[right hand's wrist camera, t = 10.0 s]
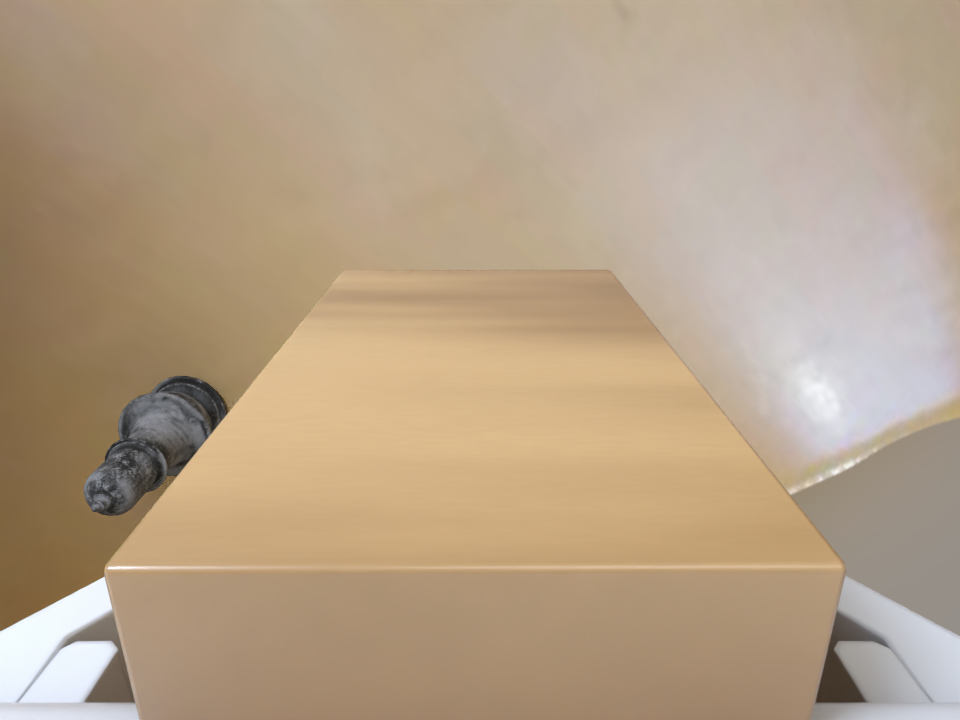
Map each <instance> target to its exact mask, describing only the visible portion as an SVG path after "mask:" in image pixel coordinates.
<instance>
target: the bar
mask: <svg viewBox="0 0 960 720" xmlns="http://www.w3.org/2000/svg"><path fill="white" fill-rule="evenodd" d="M845 574H846V568H845V564H844V562H843V560H842V559H841V558H840V557H839V555H838V554H837V553H836V552H835V550H834V549H833V548H832V547H831V545H830V544H829V543H828V542H827V540H826V539H825V538H824V537H823V535H822V534H821V533H820V532H819V530H818V529H817V528H816V527H815V525H814V524H813V523H812V522H811V520H810V519H809V518H808V517H807V515H806V514H805V513H804V512H803V510H802V509H801V508H800V507H799V505H798V504H797V503H796V502H795V500H794V499H793V498H792V497H791V495H790V494H789V493H788V492H787V490H786V489H785V488H784V487H783V485H782V484H781V483H780V482H779V480H778V479H777V478H776V477H775V475H774V474H773V473H772V472H771V470H770V469H769V468H768V467H767V465H766V464H765V463H764V462H763V460H762V459H761V458H760V457H759V455H758V454H757V453H756V452H755V450H754V449H753V448H752V447H751V445H750V444H749V443H748V442H747V440H746V439H745V438H744V437H743V435H742V434H741V433H740V432H739V430H738V429H737V428H736V427H735V425H734V424H733V423H732V422H731V420H730V419H729V418H728V417H727V415H726V414H725V413H724V412H723V410H722V409H721V408H720V407H719V405H718V404H717V403H716V402H715V400H714V399H713V398H712V397H711V395H710V394H709V393H708V392H707V390H706V389H705V388H704V387H703V385H702V384H701V383H700V382H699V380H698V379H697V378H696V377H695V375H694V374H693V373H692V372H691V370H690V369H689V368H688V367H687V365H686V364H685V363H684V362H683V360H682V359H681V358H680V357H679V355H678V354H677V353H676V352H675V350H674V349H673V348H672V347H671V345H670V344H669V343H668V342H667V340H666V339H665V338H664V337H663V335H662V334H661V333H660V332H659V330H658V329H657V328H656V327H655V325H654V324H653V323H652V322H651V320H650V319H649V318H648V317H647V315H646V314H645V313H644V312H643V310H642V309H641V308H640V307H639V305H638V304H637V303H636V302H635V300H634V299H633V298H632V297H631V295H630V294H629V293H628V292H627V290H626V289H625V288H624V287H623V285H622V284H621V283H620V282H619V280H618V279H617V278H616V277H615V275H614V274H613V273H612V272H611V271H610V270H344V271H342V272H341V274H340V275H339V276H338V277H337V279H336V280H335V281H334V282H333V284H332V285H331V286H330V287H329V288H328V290H327V291H326V292H325V293H324V295H323V296H322V297H321V298H320V300H319V301H318V302H317V303H316V305H315V306H314V307H313V308H312V310H311V311H310V312H309V313H308V315H307V316H306V317H305V318H304V319H303V321H302V322H301V323H300V324H299V326H298V327H297V328H296V329H295V331H294V332H293V333H292V334H291V336H290V337H289V338H288V339H287V341H286V342H285V343H284V344H283V346H282V347H281V348H280V349H279V350H278V352H277V353H276V354H275V355H274V357H273V358H272V359H271V360H270V362H269V363H268V364H267V365H266V367H265V368H264V369H263V370H262V372H261V373H260V374H259V375H258V377H257V378H256V379H255V380H254V381H253V383H252V384H251V385H250V386H249V388H248V389H247V390H246V391H245V393H244V394H243V395H242V396H241V398H240V399H239V400H238V401H237V403H236V404H235V405H234V406H233V408H232V409H231V410H230V411H229V412H228V414H227V415H226V416H225V417H224V419H223V420H222V421H221V422H220V424H219V425H218V426H217V427H216V429H215V430H214V431H213V432H212V434H211V435H210V436H209V437H208V439H207V440H206V441H205V442H204V443H203V445H202V446H201V447H200V448H199V450H198V451H197V452H196V453H195V455H194V456H193V457H192V458H191V460H190V461H189V462H188V463H187V465H186V466H185V467H184V468H183V470H182V471H181V472H180V473H179V474H178V476H177V477H176V478H175V479H174V481H173V482H172V483H171V484H170V486H169V487H168V488H167V489H166V491H165V492H164V493H163V494H162V496H161V497H160V498H159V499H158V501H157V502H156V503H155V504H154V505H153V507H152V508H151V509H150V510H149V512H148V513H147V514H146V515H145V517H144V518H143V519H142V520H141V522H140V523H139V524H138V525H137V527H136V528H135V529H134V530H133V532H132V533H131V534H130V535H129V536H128V538H127V539H126V540H125V541H124V543H123V544H122V545H121V546H120V548H119V549H118V550H117V551H116V553H115V554H114V555H113V556H112V558H111V559H110V560H109V561H108V562H107V564H106V566H105V569H104V577H105V581H106V585H107V589H108V593H109V597H110V601H111V606H112V610H113V614H114V618H115V622H116V626H117V630H118V634H119V638H120V642H121V647H122V651H123V655H124V659H125V663H126V667H127V671H128V675H129V679H130V683H131V688H132V692H133V696H134V700H135V704H136V708H137V712H138V716H139V720H811V719H812V715H813V710H814V706H815V702H816V698H817V693H818V689H819V685H820V681H821V676H822V672H823V668H824V664H825V659H826V655H827V651H828V647H829V642H830V638H831V634H832V630H833V625H834V621H835V617H836V613H837V608H838V604H839V600H840V596H841V591H842V587H843V583H844V579H845Z"/></svg>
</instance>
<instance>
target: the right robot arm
mask: <svg viewBox="0 0 960 720" xmlns="http://www.w3.org/2000/svg"><path fill="white" fill-rule="evenodd" d="M0 720H139V716H138V712H137V708H136V704H135V700H134V696H133V692H132V688H131V683H130V679H129V675H128V671H127V667H126V663H125V659H124V655H123V651H122V647H121V642H120V638H119V634H118V630H117V626H116V622H115V618H114V614H113V610H112V606H111V601H110V597H109V593H108V589H107V585H106V581H105V577H103V578H101V579H99V580H97V581H95V582H94V583H92V584H90V585H88V586H86V587H84V588H82V589H80V590H78V591H76V592H75V593H73V594H71V595H69V596H67V597H65V598H63V599H61V600H59V601H57V602H56V603H54V604H52V605H50V606H48V607H46V608H44V609H42V610H40V611H38V612H37V613H35V614H33V615H31V616H29V617H27V618H25V619H23V620H21V621H19V622H18V623H16V624H14V625H12V626H10V627H8V628H6V629H4V630H2V631H0ZM811 720H960V636H958V635H956V634H954V633H953V632H951V631H949V630H947V629H945V628H943V627H941V626H939V625H938V624H936V623H934V622H932V621H930V620H928V619H926V618H924V617H922V616H921V615H919V614H917V613H915V612H913V611H911V610H909V609H907V608H906V607H904V606H902V605H900V604H898V603H896V602H894V601H892V600H891V599H889V598H887V597H885V596H883V595H881V594H879V593H877V592H876V591H874V590H872V589H870V588H868V587H866V586H864V585H862V584H861V583H859V582H857V581H855V580H853V579H851V578H849V577H847V576H846V575H845V579H844V583H843V587H842V591H841V596H840V600H839V604H838V608H837V613H836V617H835V621H834V625H833V630H832V634H831V638H830V642H829V647H828V651H827V655H826V659H825V664H824V668H823V672H822V676H821V681H820V685H819V689H818V693H817V698H816V702H815V706H814V710H813V715H812V719H811Z"/></svg>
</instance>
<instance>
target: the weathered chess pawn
mask: <svg viewBox="0 0 960 720" xmlns="http://www.w3.org/2000/svg"><path fill="white" fill-rule="evenodd" d="M226 415H227V413H226V407H225V405H224V402H223V400H222V398H221V397H220V395H219V394H218V393H217V392H216V390H215V389H213V388H212V387H211V386H210V385H208V384H207V383H205V382H203V381H201V380H199V379H197V378H193V377H188V376H175V377H172V378H168V379H166V380H164V381H162V382H161V383H159V384H158V385H157V386H156V387H155V389H154V390H153V391H152V393H149V394H145V395H142V396H139V397H137V398H136V399H134V400H133V401H131V402H130V403H129V404H128V405H127V406H126V407H125V408H124V410H123V411H122V414H121V416H120V419H119V426H118V432H119V436H120V440H119V441H117V442H115V443H114V444H112V446H111V447H110V448H109V449H108V451H107V453H106V456H105V462H104V463H102V464H101V465H100V466H99V467H98V468H97V469H96V470H95V471H94V472H93V473H92V474H91V475H90V476H89V477H88V479H87V481H86V483H85V485H84V495H85V499H86V501H87V503H88V505H89V506H90V507H91V509H92V511H93V512H98V513H100V514H103V515H109V516H114V515H121V514H124V513H125V512H127V511H129V510H130V509H132V507H133V506H134V505H135V504H136V503H137V502H138V501H139V499H140V498H141V497H142V496H143V495H144V494H145V493H146V492H149V491H153V490H155V489H156V488H158V487H159V486H160V485H161V484H162V483H163V482H164V481H165V478H166V476H178V474H179V473H180V472H181V471H182V470H183V468H184V467H185V466H186V465H187V463H188V462H189V461H190V460H191V458H192V457H193V456H194V455H195V453H196V452H197V451H198V450H199V448H200V447H201V446H202V445H203V443H204V442H205V441H206V440H207V439H208V437H209V436H210V435H211V434H212V432H213V431H214V430H215V429H216V427H217V426H218V425H219V424H220V422H221V421H222V420H223V419H224V417H225V416H226Z"/></svg>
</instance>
